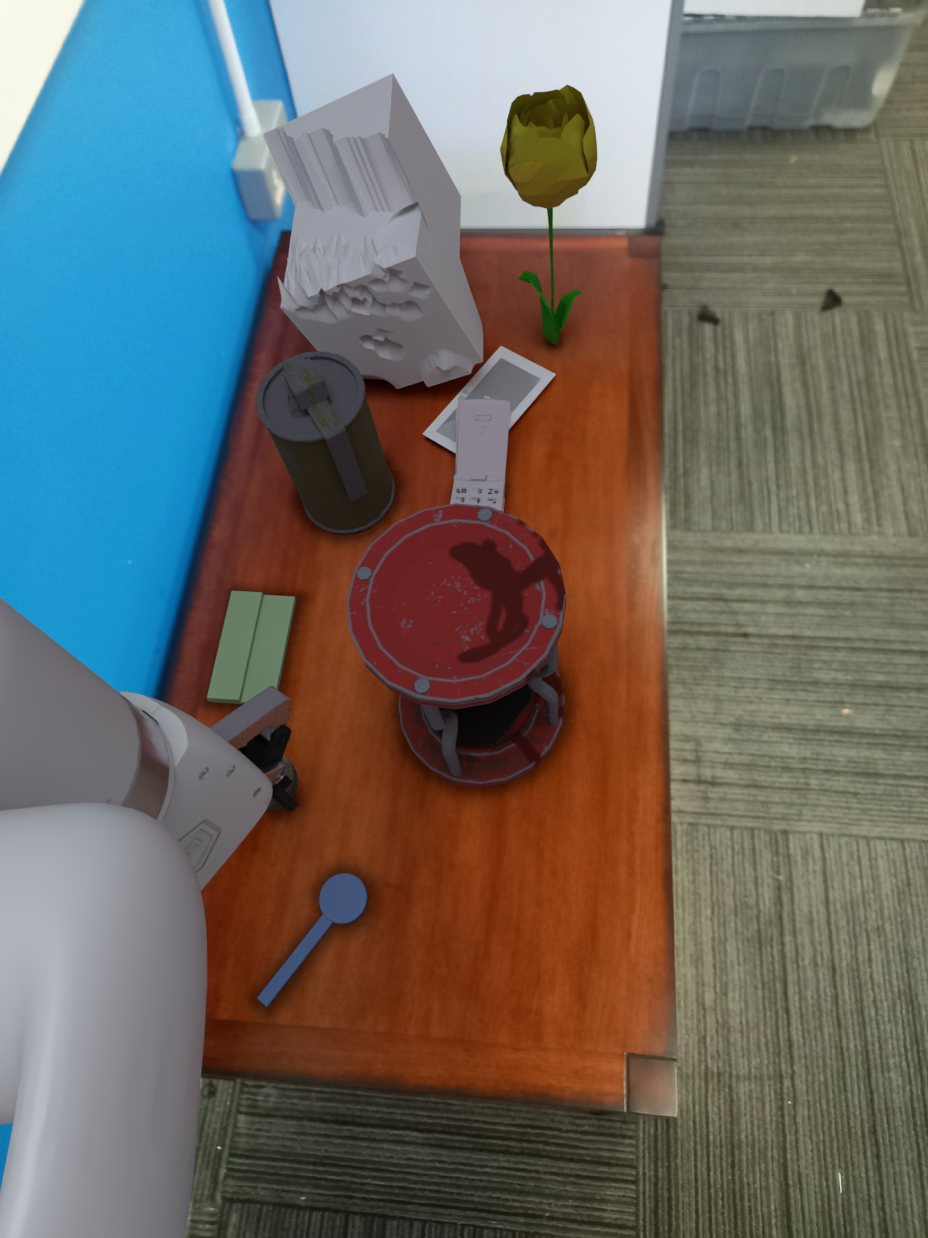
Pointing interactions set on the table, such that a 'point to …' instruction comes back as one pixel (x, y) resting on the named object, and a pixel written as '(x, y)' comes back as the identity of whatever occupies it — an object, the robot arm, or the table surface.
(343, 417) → the canister
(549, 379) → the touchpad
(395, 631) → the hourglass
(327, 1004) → the table surface
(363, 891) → the spoon
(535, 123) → the flower
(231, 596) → the towel
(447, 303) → the grey carved stone block
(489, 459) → the mobile phone
